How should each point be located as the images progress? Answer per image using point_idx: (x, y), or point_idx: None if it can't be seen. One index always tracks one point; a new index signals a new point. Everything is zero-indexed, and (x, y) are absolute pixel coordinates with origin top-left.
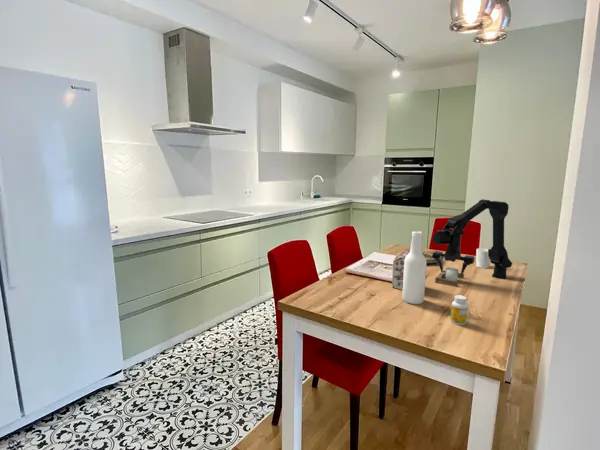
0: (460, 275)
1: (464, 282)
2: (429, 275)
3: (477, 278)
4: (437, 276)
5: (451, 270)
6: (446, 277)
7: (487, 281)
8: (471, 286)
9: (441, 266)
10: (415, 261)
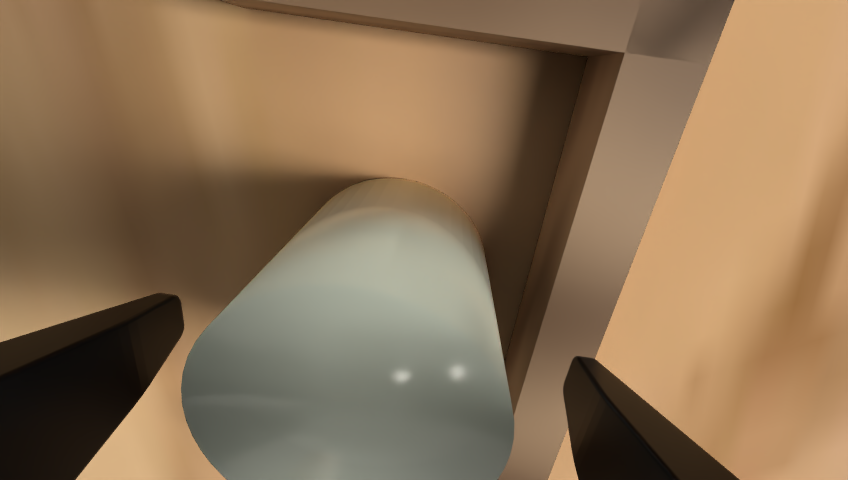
0: None
1: (206, 264)
2: (726, 364)
3: (135, 470)
4: (667, 159)
5: (335, 297)
6: (468, 235)
7: None
8: (55, 110)
9: (680, 475)
10: None
